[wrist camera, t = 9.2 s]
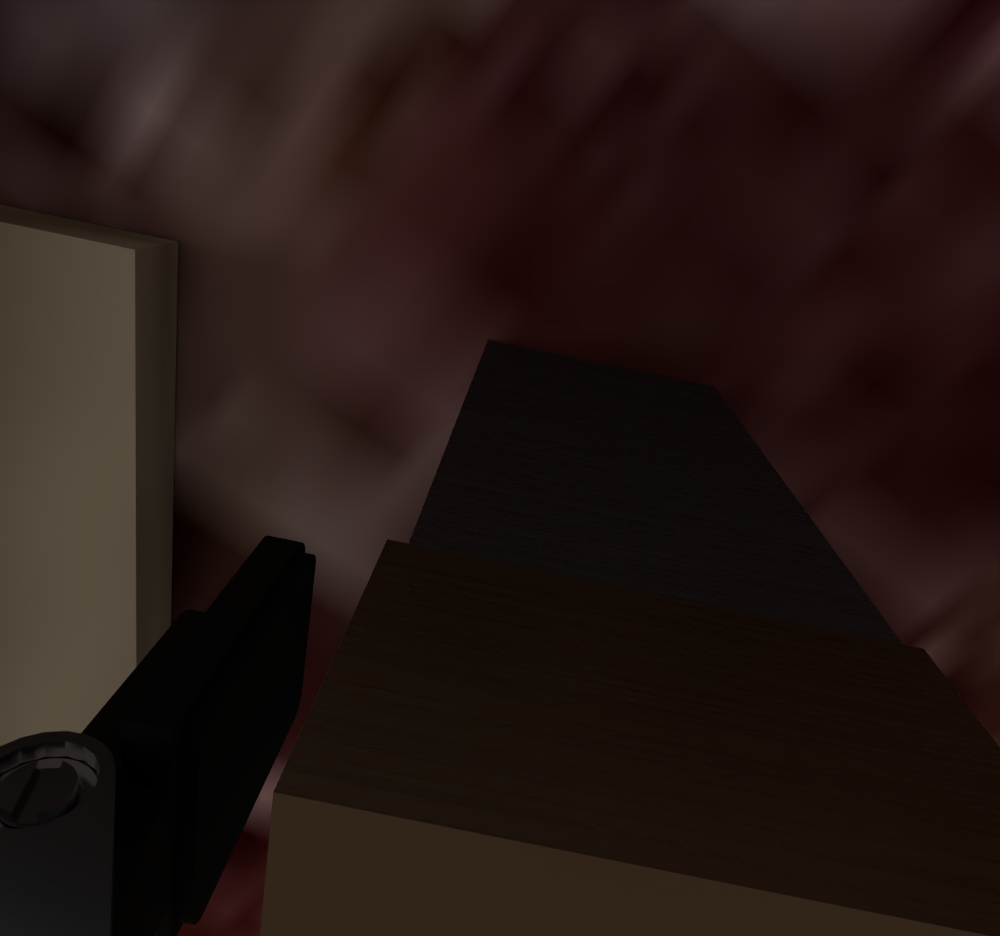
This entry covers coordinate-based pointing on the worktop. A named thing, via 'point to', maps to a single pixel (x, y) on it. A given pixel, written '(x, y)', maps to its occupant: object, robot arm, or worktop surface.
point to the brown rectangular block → (626, 701)
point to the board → (82, 463)
